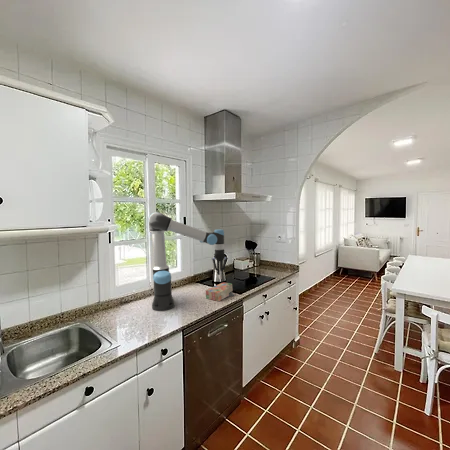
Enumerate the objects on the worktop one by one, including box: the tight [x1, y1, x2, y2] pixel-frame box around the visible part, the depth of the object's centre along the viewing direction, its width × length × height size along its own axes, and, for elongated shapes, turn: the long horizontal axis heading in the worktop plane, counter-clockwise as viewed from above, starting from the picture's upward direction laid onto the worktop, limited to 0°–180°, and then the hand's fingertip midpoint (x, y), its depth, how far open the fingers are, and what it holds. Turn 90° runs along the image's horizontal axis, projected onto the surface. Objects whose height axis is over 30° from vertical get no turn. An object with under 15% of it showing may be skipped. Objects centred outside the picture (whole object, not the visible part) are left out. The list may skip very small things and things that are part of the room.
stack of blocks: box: [205, 282, 233, 302], centre depth 189 cm, size 21×6×12 cm
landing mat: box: [226, 291, 235, 298], centre depth 198 cm, size 10×22×1 cm, turn 18°
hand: (220, 278), depth 196 cm, fingers closed
